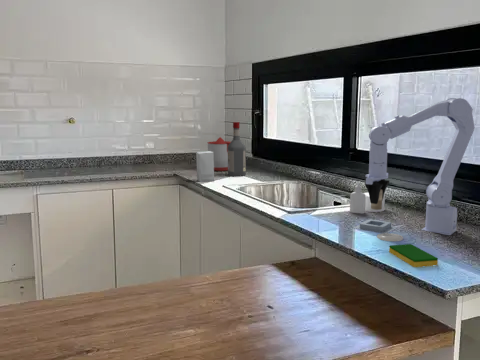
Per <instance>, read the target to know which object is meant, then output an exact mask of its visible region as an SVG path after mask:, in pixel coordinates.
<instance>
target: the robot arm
mask: <svg viewBox="0 0 480 360" xmlns="http://www.w3.org/2000/svg"><path fill="white" fill-rule="evenodd" d="M473 110H474V109H473V108H472V105H470V103H469V101H468V100H467V99H464V98H462V97H459V98H455V97H449V98H447V99H446V100H441V101H438V102H436V103H434V104H431V105H429V106H427V107H425V108H423V109H420V110H419V111H417V112H415V113H413V114H410V115H409V116H406V115H400V114H397V115H395V116H394V118H393V119H391V120H389V121H386V122H385V121H384V122H380V123H381V124H380V126H373V127H372V128H371V129H370V132H369V134H368V138H369V139H370V143H369V147H370V148H369V152H368V153H369V156H368V157H369V158H368V159H369V160H368V161H369V164H368V174H365V182H364V186H365V188H366V190H367V193H369V197H370V202H371V203H373V204H377V203H378V199H379V193H380V190H381V189H382V190H383V191H382V200H383V197H384V195H385V193H386V190H387V188H388V185H389V184H390V180H389V172H387V171H388V142H389V141H390V140H393V139H395V138H397V137H400V136H401V135H404V134H406V133H408V132H409V133H410V131H411V129H412V127H413V126H415V125H417V124H419V123H422V122H424V121H427V120H429V119H432V118H434V117H446V118H448V119H449V120H450V121H451V123H452V124H453V127H454V128H455V132H454V134H453V136H452V139H451V142H450V144H449V146H448V148H447V151H446V153H445V156H444V159H443V161H442V162H441V165H440V168H439V170H438V172H437V175H436V176H434V178H433V180H432V182H431V183H430V184H429V185H427V187H426V190H425V194H426V196H427V198H428V199H427V200H428V201H426V207H425V208H426V209H425V224H424V225H425V226H424V227H423V228H421V230H420V231H422V232H423V231H424V232H429V233H438V234H440V235H444V236H452V235H453V234H454V233H455V232H457V222H458V208H457V207H455V206H452V205H451V204H450V203H451V201H452V199H453V190H454V189H453V188H454V179H455V177H456V174H457V172H458V170H459V167H460V165H461V163H462V161H463V158H464V155H465V153H466V151H467V147H468V145H469V142H470V141H471V139H472V136H473V133H474V131H475V123H474V122H475V121H474V116H473ZM387 179H388V180H387Z"/></svg>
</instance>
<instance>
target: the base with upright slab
mask: <svg viewBox="0 0 480 360" xmlns="http://www.w3.org/2000/svg"><path fill="white" fill-rule="evenodd" d="M363 193H364V194H365V212H370V213H371V212H372V213H378V212H379V213H381V212H384V211H385V202H386V200H385V198H386V195H385V194H384V197H383V200H382V209H380V210H374V209H371V202H370V197H369V193H368V192H363Z"/></svg>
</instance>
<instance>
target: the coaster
mask: <svg viewBox="0 0 480 360" xmlns="http://www.w3.org/2000/svg"><path fill="white" fill-rule="evenodd" d="M376 238H377V239H378V240H381V241H385V242H400V241H403V240H404V236H402V235H401V234H398V233H393V232H392V233H390V232H389V233H379V234H377V235H376Z"/></svg>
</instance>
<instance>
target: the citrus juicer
mask: <svg viewBox="0 0 480 360" xmlns="http://www.w3.org/2000/svg"><path fill="white" fill-rule="evenodd" d="M230 143H231V141H230V140H229V141H228V140H224V139H223V138H222V137H221V136H220V137H218V138H217V139H216V141H214V140H213V141H208V142H207V151H211V152H213V160H214V172H215V171H217V172H218V171H219V172H224V171H228V145H229V144H230Z"/></svg>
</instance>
